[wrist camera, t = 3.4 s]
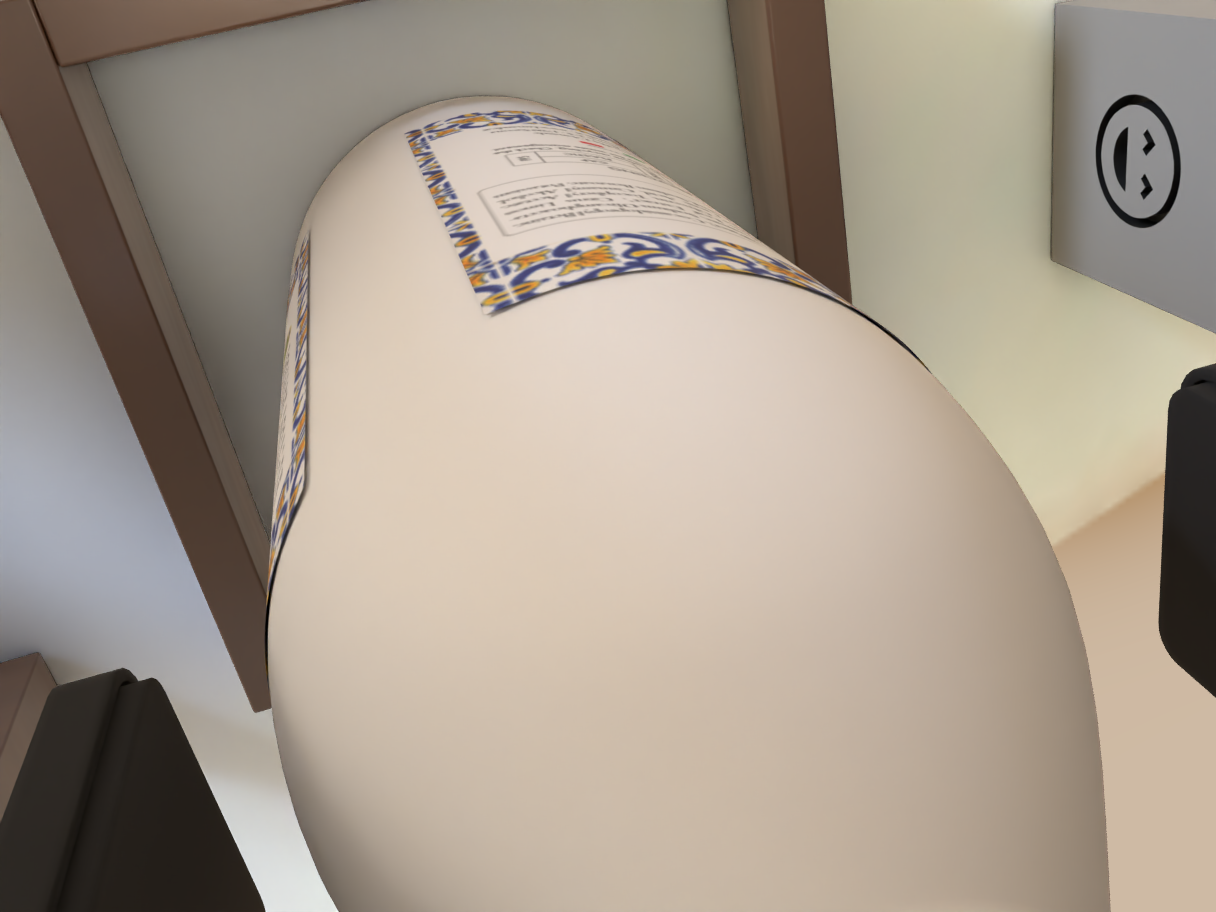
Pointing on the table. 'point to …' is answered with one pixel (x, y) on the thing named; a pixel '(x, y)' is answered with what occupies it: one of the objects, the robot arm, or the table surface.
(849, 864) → the bath foam
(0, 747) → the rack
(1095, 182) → the dice cube
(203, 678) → the table surface
